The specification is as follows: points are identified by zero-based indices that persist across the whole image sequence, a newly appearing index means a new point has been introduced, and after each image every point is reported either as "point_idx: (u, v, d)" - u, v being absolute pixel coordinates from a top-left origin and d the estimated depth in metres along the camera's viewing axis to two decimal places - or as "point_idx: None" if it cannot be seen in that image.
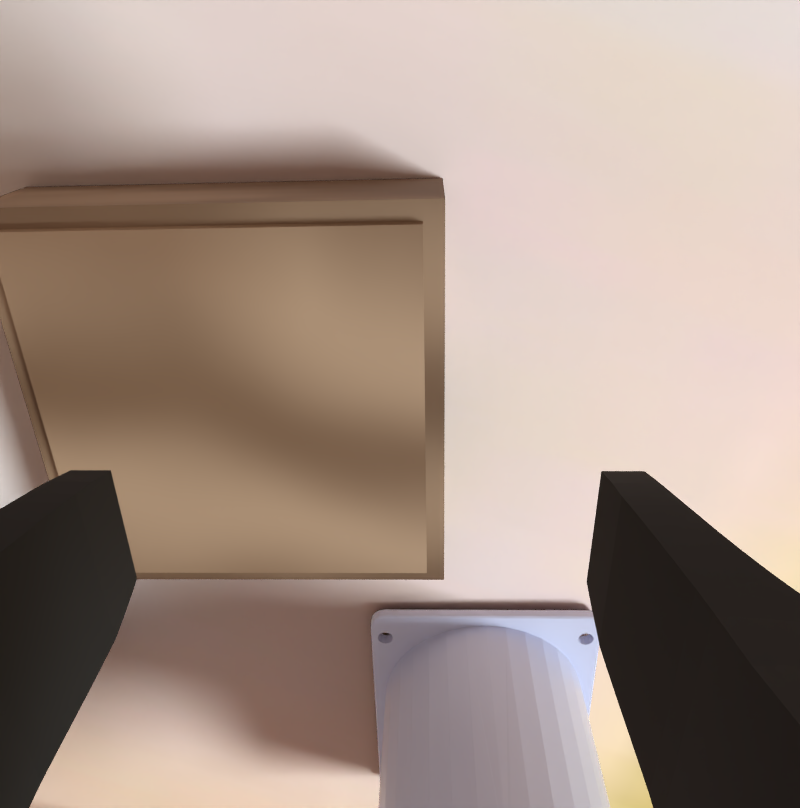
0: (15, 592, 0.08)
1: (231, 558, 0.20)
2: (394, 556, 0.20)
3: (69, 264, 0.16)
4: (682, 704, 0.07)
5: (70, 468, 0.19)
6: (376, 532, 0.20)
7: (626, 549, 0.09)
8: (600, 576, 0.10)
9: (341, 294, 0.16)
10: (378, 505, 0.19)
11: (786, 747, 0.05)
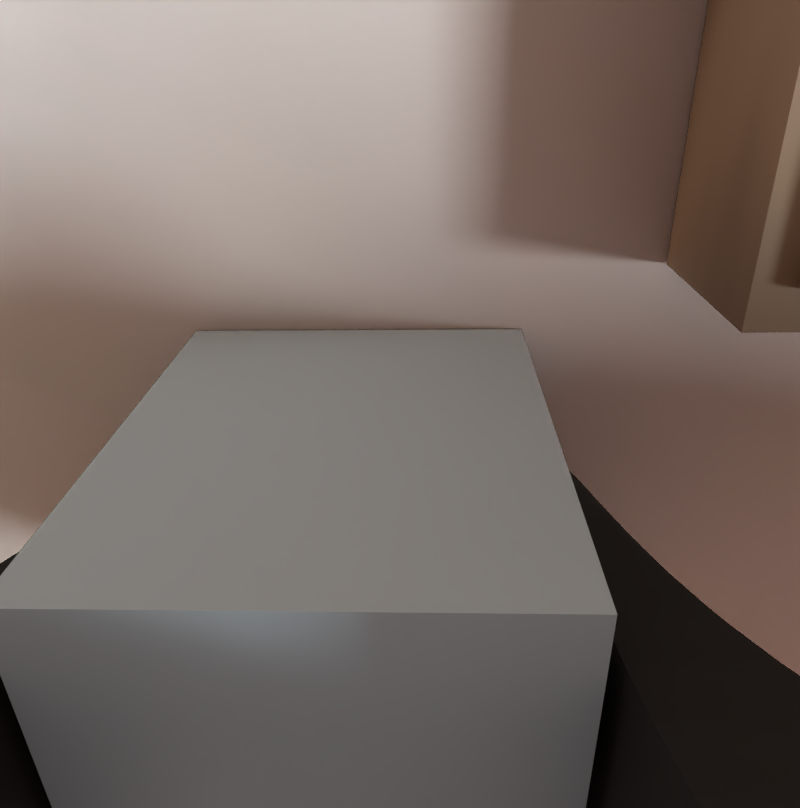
0: None
1: None
2: None
3: None
4: None
5: None
6: None
7: None
8: None
9: None
10: None
11: (644, 742, 0.05)
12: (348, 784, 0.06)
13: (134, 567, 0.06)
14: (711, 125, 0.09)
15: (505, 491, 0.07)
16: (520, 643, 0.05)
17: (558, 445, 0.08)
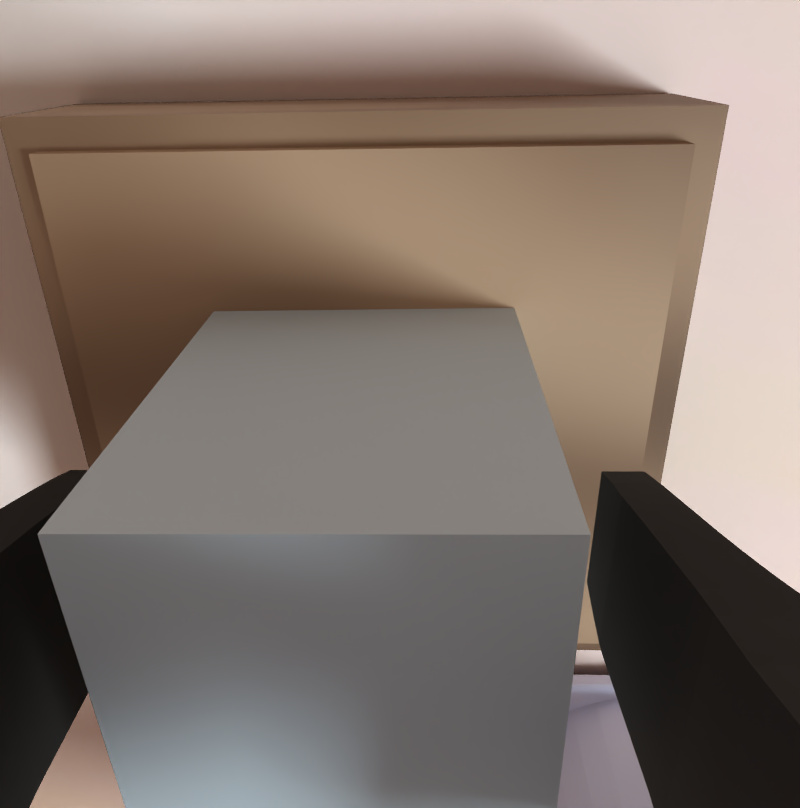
0: (15, 592, 0.08)
1: None
2: None
3: (150, 204, 0.11)
4: (682, 704, 0.07)
5: None
6: None
7: (626, 549, 0.09)
8: (600, 576, 0.10)
9: (553, 253, 0.11)
10: None
11: (784, 746, 0.05)
12: (359, 696, 0.07)
13: (173, 503, 0.07)
14: None
15: (497, 441, 0.08)
16: (506, 560, 0.06)
17: (546, 404, 0.09)
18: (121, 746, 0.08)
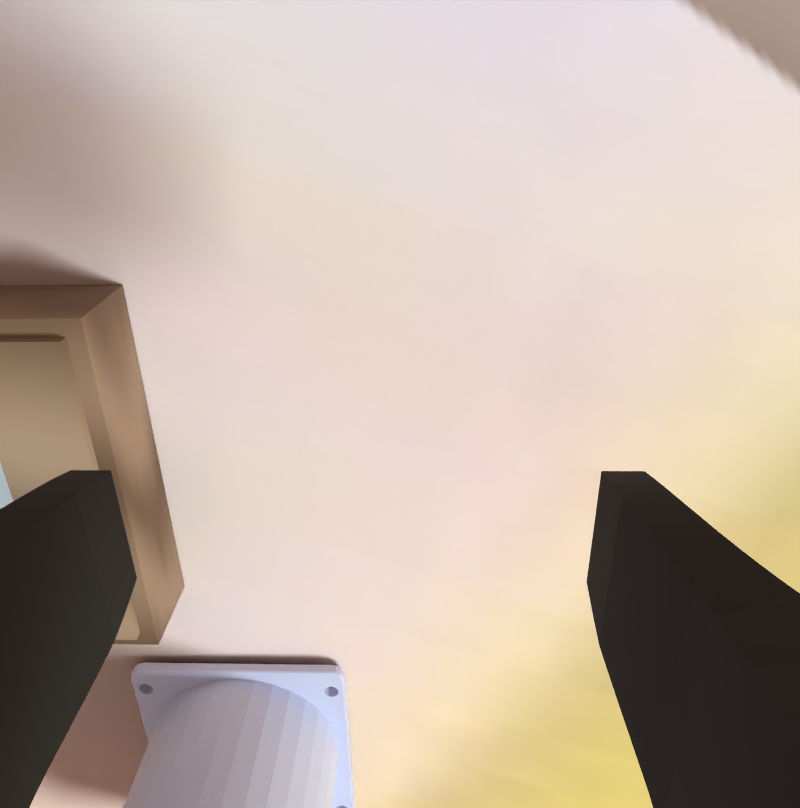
0: (15, 592, 0.08)
1: None
2: None
3: None
4: (682, 704, 0.07)
5: None
6: None
7: (626, 549, 0.09)
8: (600, 576, 0.10)
9: (1, 399, 0.18)
10: None
11: (784, 746, 0.05)
12: None
13: None
14: None
15: None
16: None
17: None
18: None
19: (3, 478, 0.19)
